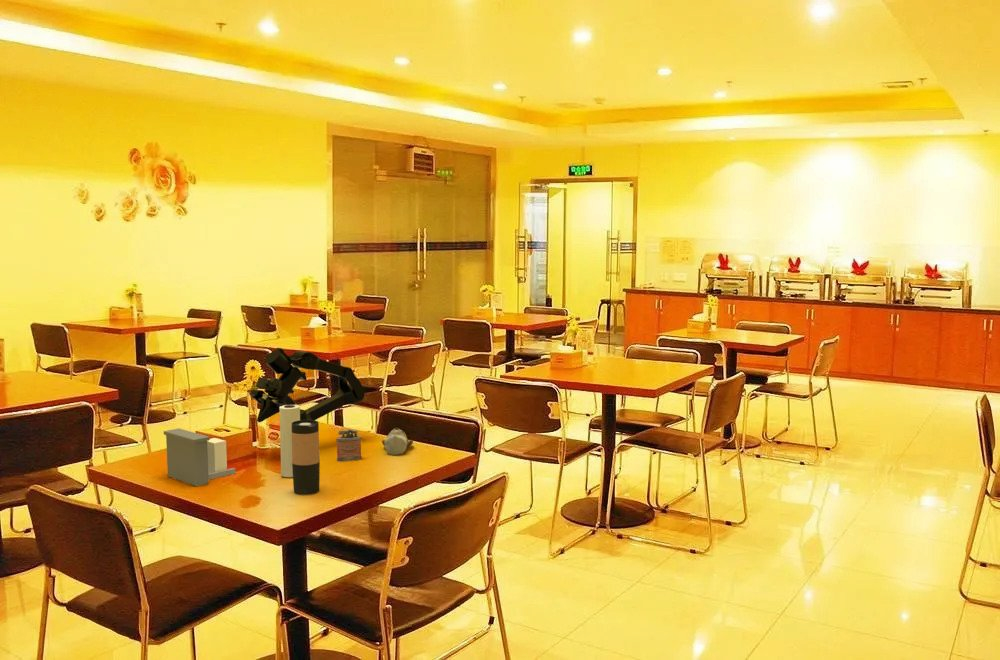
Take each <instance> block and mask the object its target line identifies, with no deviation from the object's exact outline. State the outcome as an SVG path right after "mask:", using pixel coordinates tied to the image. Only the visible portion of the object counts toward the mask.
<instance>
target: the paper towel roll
mask: <svg viewBox="0 0 1000 660" xmlns="http://www.w3.org/2000/svg"><path fill="white" fill-rule="evenodd" d="M300 409H301V408H300V405H299V404H297V405H296V404H295V405H284V406H281V407H279V410H280V412H279V440H280V442H279V443H280V447H279V448H280V473H281V474H280V475H281V477H284V478H293V469H292V422H295V421H299V420H300Z"/></svg>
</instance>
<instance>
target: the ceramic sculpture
mask: <svg viewBox="0 0 1000 660" xmlns="http://www.w3.org/2000/svg"><path fill="white" fill-rule="evenodd" d="M381 443H382V445H383V446H384V449H385V451H386V452H387V454H389V455H392V456H399V454H400V455H402V454H404V453H405V451H406V449H407V448H410V447H411V446H412V445H413V443H414V441H413V440H412V439H408V436H407V435H406V433H405V431H403V430H402V429H400V428H399V427H397V426H396V427H394V428H393V429H392V430H391V431H390V432H389V433H388V435H387V436H386V438H385V439H382V440H381Z"/></svg>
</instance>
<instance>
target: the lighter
mask: <svg viewBox="0 0 1000 660" xmlns="http://www.w3.org/2000/svg"><path fill="white" fill-rule="evenodd" d="M337 432H338V433H337V434H338V437H337V436H336V438H335V439H336V440H335V441H336V462H350V461H349V460H355V461H360V460H359V459H361V460H362V435H358V429H352V428H348V429H347V430H346V429H343V430H342V429H341V430H338V431H337Z"/></svg>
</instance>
